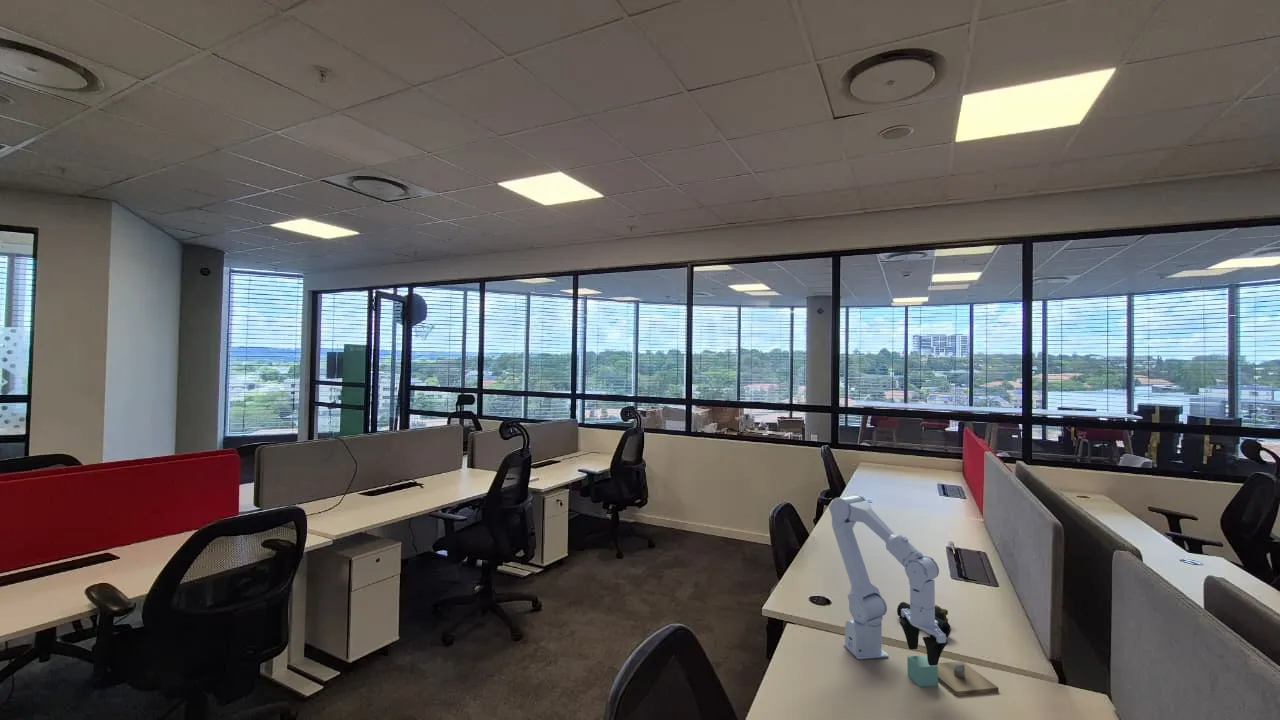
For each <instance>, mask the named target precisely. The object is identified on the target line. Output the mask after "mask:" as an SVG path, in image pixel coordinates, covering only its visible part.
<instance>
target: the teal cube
mask: <svg viewBox="0 0 1280 720" xmlns="http://www.w3.org/2000/svg"><path fill="white" fill-rule="evenodd" d="M907 677H909V678H910V679H911V680H912V681H913V682H914V683H915V684H917V686H919V688H922V687H935V686H936V687H937V686H939V681H938V666H937V665H935V666H930V665H929V664H928V659H927V655H925V654H922V655H910V656H907Z"/></svg>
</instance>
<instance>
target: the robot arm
mask: <svg viewBox="0 0 1280 720" xmlns="http://www.w3.org/2000/svg"><path fill="white" fill-rule="evenodd" d="M828 509H829V512H830V515H831V526H832V531H833V533H834V536H835V539H836V542H837V546H838V549H839V552H840V554H841V558H842V561H843V564H844V568H845V570H846V573H847V576H848V580H849V583H850V590H849V591H848V594H847V599H848V610H849V614H850V615H851V617H852V618H851V619H850V620H846V622H845V624H844V643H843V646H844V647H845V648H846V649H847V650H848V651H849V652H850V653H851V655H854V657H855V658H856V659H858V660H867V659H879V658H888V657H889V654H888V653H887V652H885V650H883V649H882V648H883V647H882V646H883V645H882V639H883V638H882V636H883V635H882V631H883V630H882V629H883V628H882V626H883V624H882V622H883V618H884V616H885V615H886V614H887V610H888V605H887V603H886V599H884V598H883V596H882V595H881V592H880V590H879V588H878V587H877V586H876V585H874V584H872V583H871V580H870V578H869V574H868V570H867V568H866V565H865V562H864V559H863V555H862V553H861V551H860V547H859V544H858V541H857V538H856V535H855V532H854V529H853V528H854V526H855V524H856V523H857V522H858V523H863V524H865V526H867V527H868V528H869V529H870V530H871V531H872V532H873V533H874V534H876V535H877V536H878V537H879V538H880V539H881V540H883V542H884V543H885V548H886V550H887V552H889V553H890V554H891V555H892V556H893V557H894V558H895V559H896V560H897V562H899V563H900V564H901V565H902V566H903V568H904V571H905V575H906V577H907V578H908V584H909V605H910V610H909V609H901V616H902V617H904V619H903V618H902V619H899V620H898V622H899V624H900V627H901V628H902V631H903V632H904V636H905V639H906V643H907V647H908V649H909V650H913V651H914V650H918V647H919V636H920V631H923V632H926V634H928V635H929V636H923V637H922V640H923V643H924V645H925V649H926V650H925V651H926V657H927V659H928V664H929V665H930V666H935V665H938V663H939V661H940V658H941V655H942V652H943V650H944V649H945V647H946V646H947V645H948V644H949V642H948V639H947V638H946V635H945V634H944V633H943V632H942V631H941V630H940V628H939V627H938V626H937V625H938V621H936V620H935V605H936V604H935V601H936V598H935V597H936V596H935V595H936V593H935V592H936V591H935V585H936V583H935V582H936V581H935V579H936V578H937V577H939V574H940V568H939V566H938V563H937V562H936V561H935V560H934V558H932V556H929V555H924V554H923V552H921V551H919V550H918V549H917V548H916V547H915V546H914V545H912V544H911V543H910V541H909V538H907V537H906V536H903V535H902V534H895V533H894V532H893V531H892V529H890V527H889V526H888V525H887V524H886V523H885V522H884V521H883V519H882V518H880V516H879V515H878V514H877V512H875V511H874V510H873V508H872V506H871V503H870V502H869V501H867V500H866V499H865V497H864V496H863V495H861V494H857V493H854V494H853V495H847V496H841V497H835V498H833V499H832V501H831V503H830V505H829V507H828Z"/></svg>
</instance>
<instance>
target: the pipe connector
mask: <svg viewBox="0 0 1280 720" xmlns="http://www.w3.org/2000/svg"><path fill="white" fill-rule="evenodd" d="M896 609H897V610H896V613H897V615H898V617H899V616H900V617H899V618H901V617H902V616H901V609H909V610H910V603H907V602H905V601H901V602H900V603H899V604H898V606H897V608H896ZM948 615H949V611H948V609H946V608H942V607H941V606H939V605H937V604H935V620H936V621H938V625H937V626H938V627H939V628H940V630H941V631H942V632H943V633H944V634H945V635H946V637H947V638H948V637H949V636H950V635H951V630H952V629H951V625H950V623H949V618H947V616H948ZM903 618H904V617H902V618H901V619H903Z"/></svg>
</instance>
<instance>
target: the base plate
mask: <svg viewBox="0 0 1280 720" xmlns="http://www.w3.org/2000/svg"><path fill="white" fill-rule="evenodd" d="M937 666H938V683H940V684H941V685H943V686H944V687H945V688H946V689H948V691H950V692H951V693H952V694H953V695H955V696H957V697H959V696H966V695H967V696H969V695H977V694H986V693H987V694H988V693H998V692H999V687H998V686H997V685H996V684H994V683H993V682H991V681H990V680H988V679H987V678H986V677H985V676H983V675H982V674H981V673H979V672H978V671H977V670H975V669H974V668H972V667H971V666H969V665H968V664H967V663H965V662H964V661H963V660H959V661H957V660H956V661H949V662H947V661H946V662H938V665H937Z"/></svg>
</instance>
